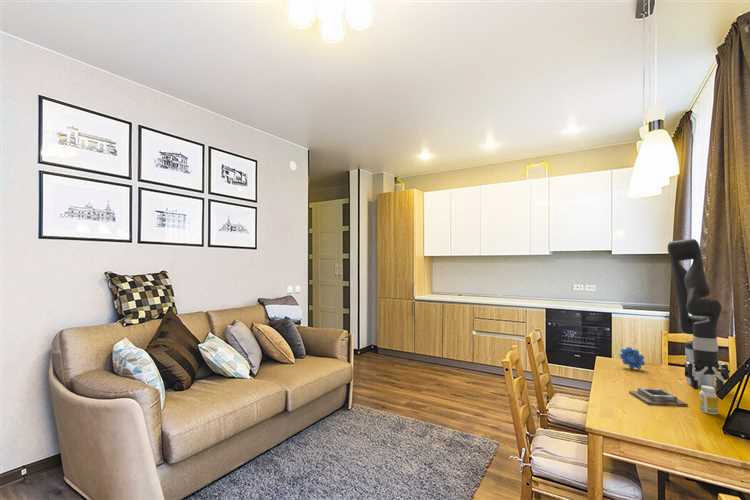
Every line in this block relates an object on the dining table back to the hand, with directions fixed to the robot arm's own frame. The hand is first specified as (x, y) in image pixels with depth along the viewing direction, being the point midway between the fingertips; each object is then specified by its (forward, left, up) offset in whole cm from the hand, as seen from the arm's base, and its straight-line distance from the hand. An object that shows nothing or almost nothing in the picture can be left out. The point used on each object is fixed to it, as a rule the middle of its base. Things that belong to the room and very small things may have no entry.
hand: (707, 389), depth 143 cm
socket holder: (+12, -12, -9) cm, 19 cm away
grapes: (-3, -60, -9) cm, 61 cm away
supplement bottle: (0, 0, -9) cm, 9 cm away
